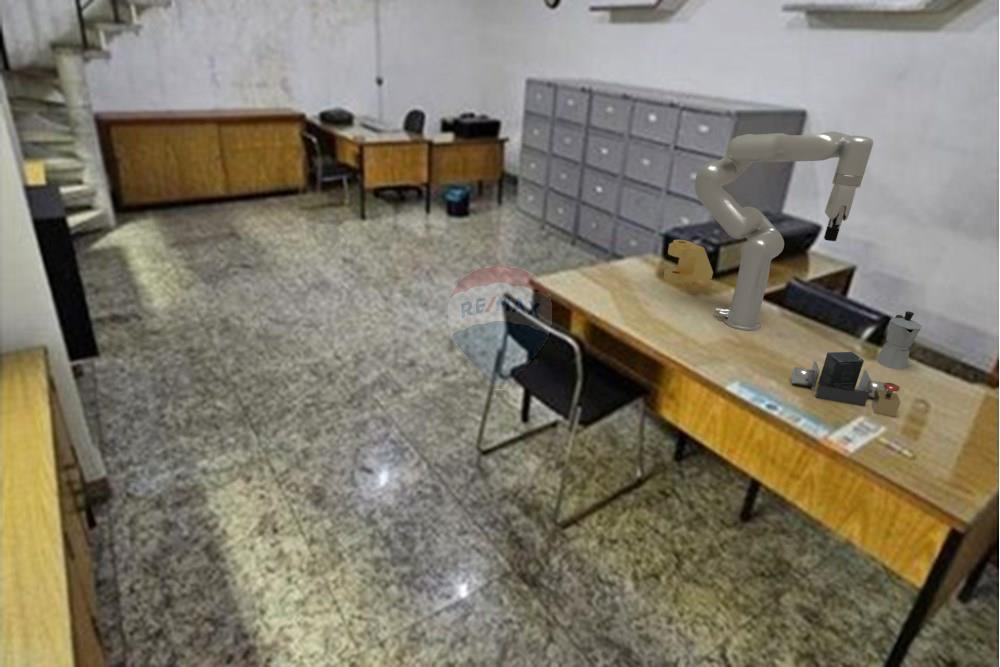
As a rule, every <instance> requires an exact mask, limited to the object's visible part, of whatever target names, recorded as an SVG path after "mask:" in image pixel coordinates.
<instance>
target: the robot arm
mask: <svg viewBox="0 0 1000 667" xmlns="http://www.w3.org/2000/svg"><path fill="white" fill-rule="evenodd" d="M873 145H874V140H873V139H872V138H871V137H868V136H863V135H862V136H861V135H850V134H846V133H842V132H839V131H833V130H831V131H826V132H824V133H815V134H801V135H799V134H797V135H791V134H786V133H784V132H783V133H781V132H776V133H762V134H761V133H760V134H759V133H758V134H754V133H746V134H742V135H738V136H735V137H734V138H732V139H731V140H730V142H728V145H727V149H726V152H727V153H726V154H725V155H724V156H723V157H722V158H721V159H719V160H715V161H711V162H708V163H706V164H704V165H703V166H702V167H700V169H699V170H698V171H697V173H696V175H695V179H694V191H695V195H696V197H697V199H698V200H699V201H700V203H701V205H703V207H705V209H706V210H707V211H708V212H709V213H710V214H711V215H712V217H713V218H714V219H715V221H717V222H718V224H719V225H720V226H721V227H722V229H723V230H724V231H725V232H726V233H727V235H728V236H730V238H732V239H743V238H745V239H746V241H745V242H744V244H743V246H742V248H741V253H740V263H739V269H738V274H737V278H736V283H735V288H734V291H733V294H732V295H733V296H732V300H731V304H730V305H729V306H728V308H721V307H718V306H717V307H715V311H714V314H715V313H716V314H718V316H722V321H723V323H725V324H726V325H727V326H729V327H731V328H734V329H737V330H741V331H749V332H750V331H751V332H752V331H758V330H759V329H761V327H762V322H761V321H760V320H759V315H760V312H761V308H762V304H763V302H764V301H763V300H764V297H765V292H766V288H767V284H768V281H769V276H770V270H771V262H772V260H773V259H775V258H776V257H778V256H779V255H780V254H781V253H782V252H783V250H784V247H785V240H784V238H783V236H782V234H781V233H780V231H779V230H778V229H777V228H776V227H775V226H774V225H773V224H772V223H771V222H770V220H769V219H768V218H767V217H766V216H765V215H764V214H763V212H762V211H760V210H759V209H758V208H756V207H753V206H744V207H743V206H741V205H740V204H739V203H738V202H737V201H736V200H735V198H734V197H733V196H732V195H731V194H730V193H729V192H727V191H726V190H725V189H723V186H725V185H729V184H730V183H733V182H734V181H735V180H737V178H739V176H741V175H742V174H743V173H744V172H745V171H746V170H747V169H748V168H749V167H750V166H751V165H752V164H753V163H773V162H774V163H775V162H776V163H777V162H778V163H782V162H783V163H784V162H819V161H826V160H829V159H834V158H838V162H837V165H836V168H835V173H834V175H833V179H832V185H833V187H832V188H831V191H830V195H829V196H828V197H829V198H828V201H827V204H826V206H825V210H824V213H825V214H826V216H827V217H828V223H827V226H826V229H825V232H824V237H823V239H824V240H825V241H829V242H836V241H837V239H838V235H839V232H840V229H841V225H842V222H843V221H844V222H845V221H846V220H848V218H849V217H850V216H849V215H850V213H851V209H852V205H853V203H854V198H855V195H856V190H857V188H858V189H859V188H861V186H862V183H863V182H862V181H863V179H864V175H865V172H866V169H867V166H868V161H869V159H870V155H871V152H872V149H873V147H874V146H873Z"/></svg>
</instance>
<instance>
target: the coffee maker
mask: <svg viewBox="0 0 1000 667" xmlns="http://www.w3.org/2000/svg"><path fill="white" fill-rule="evenodd" d="M914 315H915V313H914V312H912V311H905V312H904V316H903V315H901V314H897V315H895V317H892V318H890V320H889V323H888V329H887V334H886V339H885V340H886V342H885V343H884V344H883V346H882V348H881V349H880V351H879V353H878V354H877V356H876V358H875V359H876V361H877V364H880V365H881V366H883V367H886V368H888V369H894V370H899V371H902V370H904V369H907V368H908V362H909V356H910V348H911V347H912V346H913V343H914V341H915V339H916V338H917V336H918V334H919V333H920V330H921V329H922V326H923V325H921V324H919V323H918V322H917V321H915V320H912V318H913V316H914Z"/></svg>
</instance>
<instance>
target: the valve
mask: <svg viewBox="0 0 1000 667" xmlns="http://www.w3.org/2000/svg"><path fill="white" fill-rule="evenodd" d="M884 383H885V384H884V387H885V388H886V389H887V391H882V390H878V389H877V390H876V393H875V395H874V398H872V400H871V404H870V405H871V408H872V411H873V414H877V415H883V416H886V417H891V418H892V417H893V418H896V416H897V412H898V410H899V407H900V404H901V403H902V402H901V399H900V397H899V395H898V393H897V392H900V389H901V387H900V386H899V385H897V384H896V383H892V382H884Z"/></svg>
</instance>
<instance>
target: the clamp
mask: <svg viewBox="0 0 1000 667" xmlns="http://www.w3.org/2000/svg"><path fill="white" fill-rule="evenodd" d="M667 249H668V250H667V254H668V255H669V256H672V257H674V258H678V263H677V267H670V268H669V267H668V268H665V269H664V272H663V280H664V281H666V282H668V283H671V284H685V283H692V282H699V281H705V280H712V278H713V275H714V271H713V268H712V265H711V263H710V260H709V258H708V255H707V252H706V249H705V247H703V246H701V245H698V244H696V243H694V242H691V241H689V240H684V239H673V241H672V242H671V243H669V244H668V248H667Z"/></svg>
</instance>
